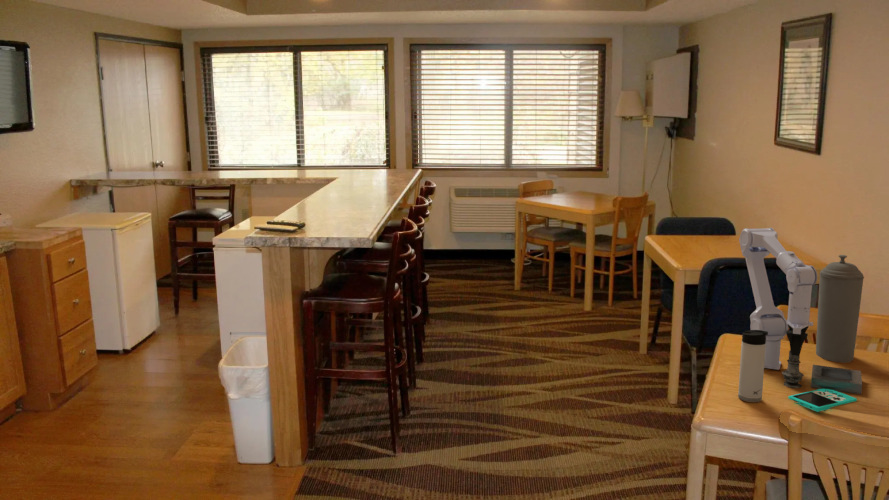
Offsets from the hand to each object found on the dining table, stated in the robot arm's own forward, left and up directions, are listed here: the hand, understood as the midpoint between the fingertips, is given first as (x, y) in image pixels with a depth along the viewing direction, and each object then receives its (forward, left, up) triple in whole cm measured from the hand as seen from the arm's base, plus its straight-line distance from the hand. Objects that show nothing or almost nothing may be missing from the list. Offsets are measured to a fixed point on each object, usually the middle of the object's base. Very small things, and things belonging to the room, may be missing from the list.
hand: (795, 351), depth 214 cm
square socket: (+11, +7, -10) cm, 17 cm away
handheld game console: (+8, -9, -11) cm, 16 cm away
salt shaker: (0, 0, -11) cm, 11 cm away
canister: (+11, +32, -11) cm, 35 cm away
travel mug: (-10, -17, -11) cm, 23 cm away
